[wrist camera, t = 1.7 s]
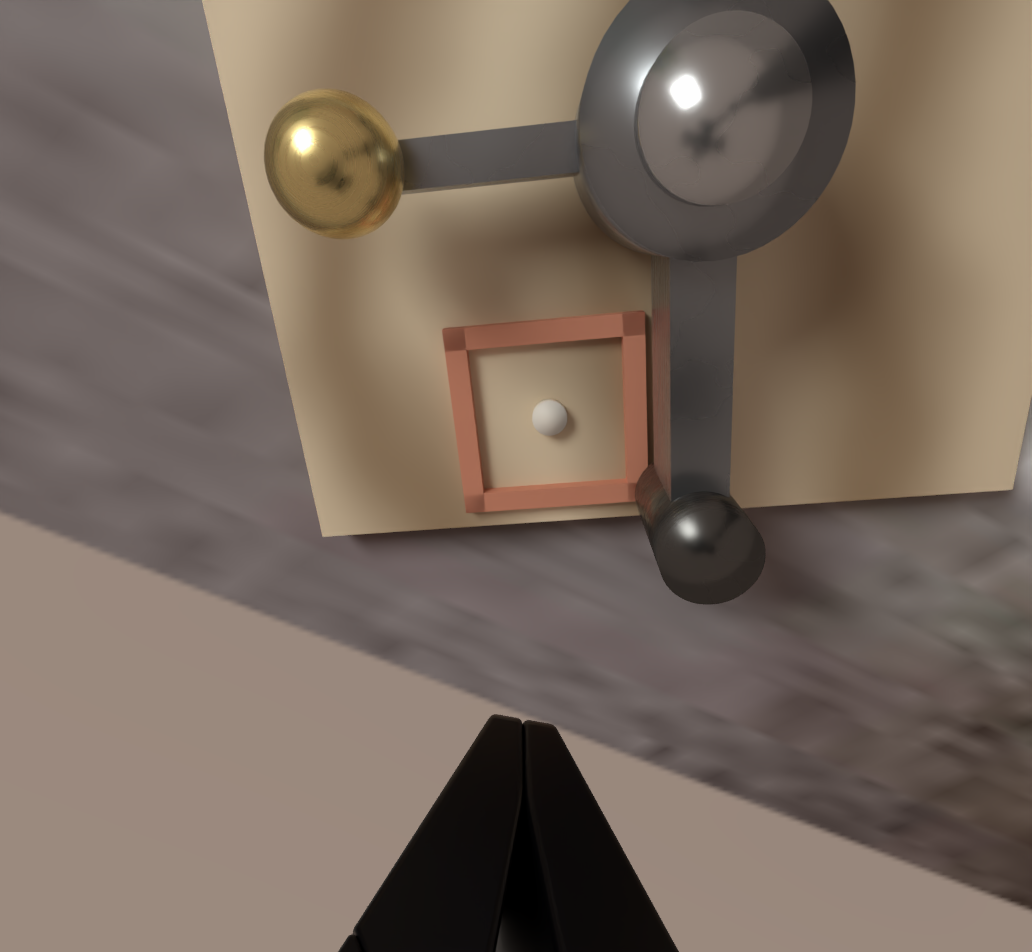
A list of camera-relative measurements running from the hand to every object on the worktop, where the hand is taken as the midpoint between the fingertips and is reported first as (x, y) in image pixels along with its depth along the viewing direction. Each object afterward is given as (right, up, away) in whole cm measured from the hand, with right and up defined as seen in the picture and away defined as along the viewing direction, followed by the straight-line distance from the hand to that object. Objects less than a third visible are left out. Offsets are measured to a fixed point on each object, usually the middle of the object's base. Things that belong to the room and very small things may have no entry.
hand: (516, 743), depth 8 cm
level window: (+1, +5, +10) cm, 11 cm away
